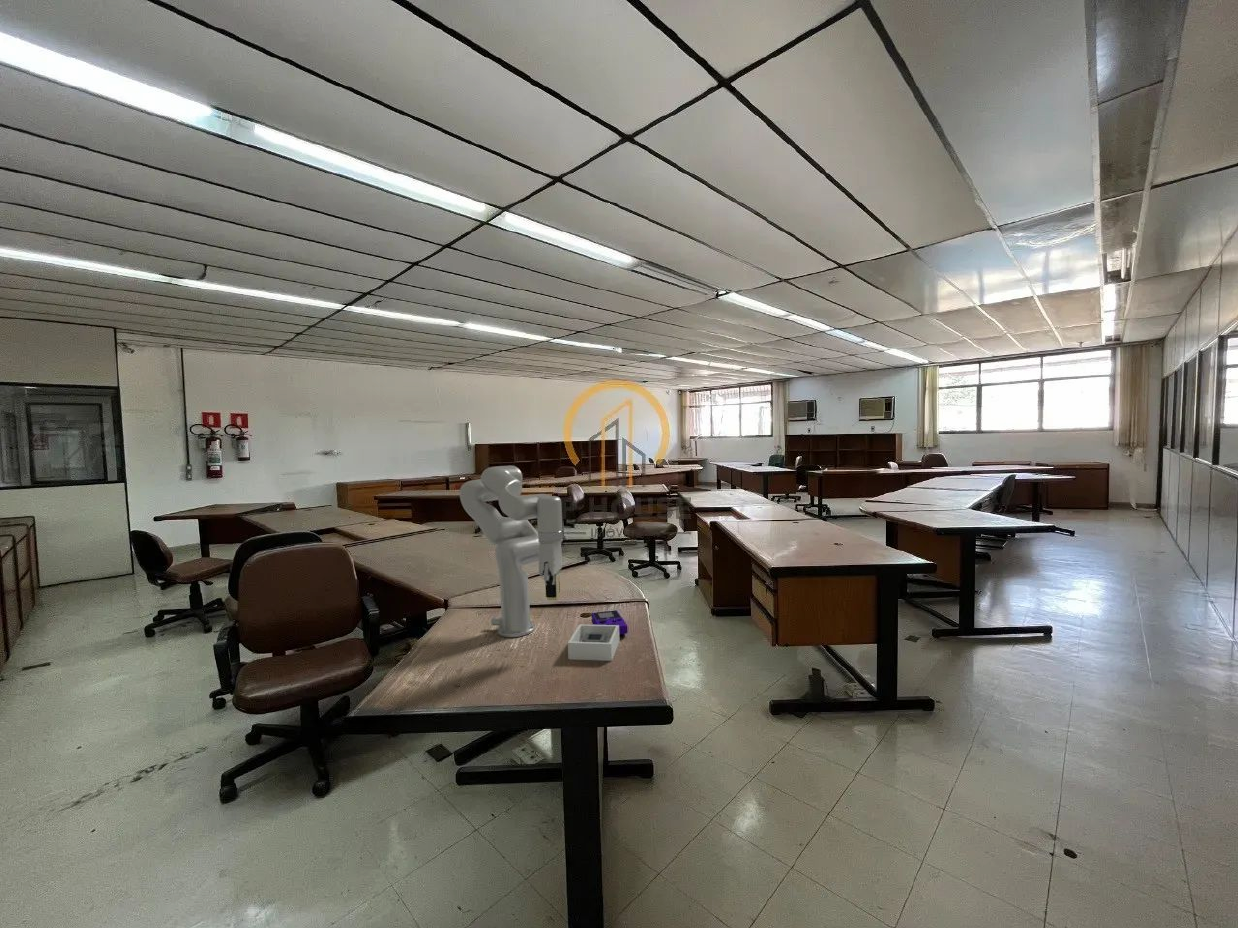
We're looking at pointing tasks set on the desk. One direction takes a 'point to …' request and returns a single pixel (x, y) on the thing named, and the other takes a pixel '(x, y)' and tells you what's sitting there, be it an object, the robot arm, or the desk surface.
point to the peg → (556, 587)
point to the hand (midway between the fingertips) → (553, 594)
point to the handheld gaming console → (610, 620)
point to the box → (594, 642)
